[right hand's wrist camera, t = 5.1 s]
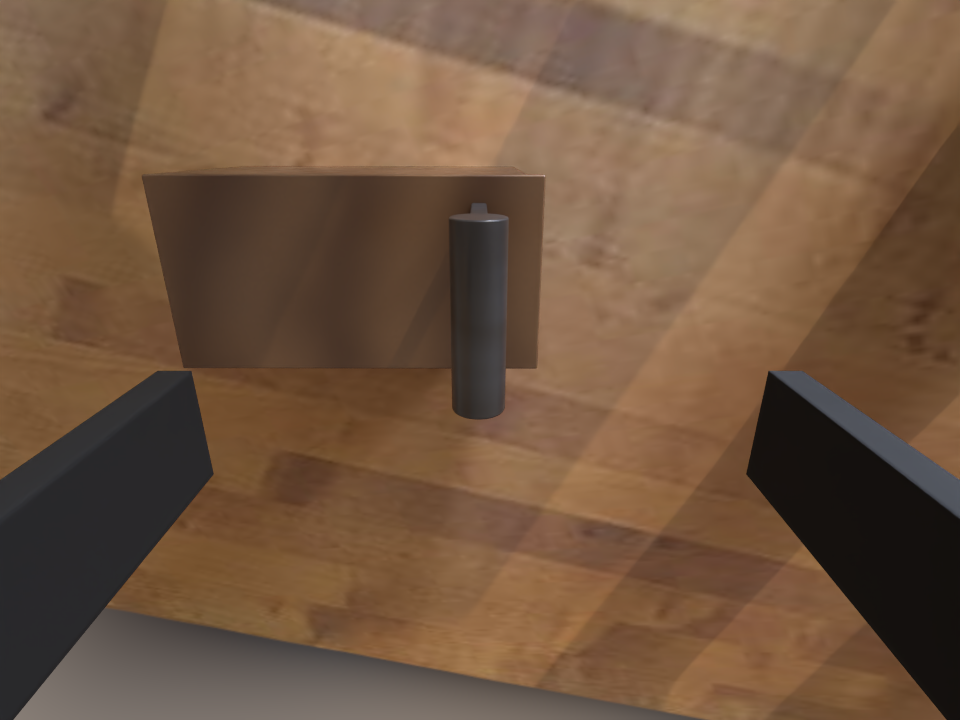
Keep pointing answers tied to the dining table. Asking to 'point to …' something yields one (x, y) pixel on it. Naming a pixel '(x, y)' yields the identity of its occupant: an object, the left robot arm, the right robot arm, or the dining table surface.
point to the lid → (356, 273)
